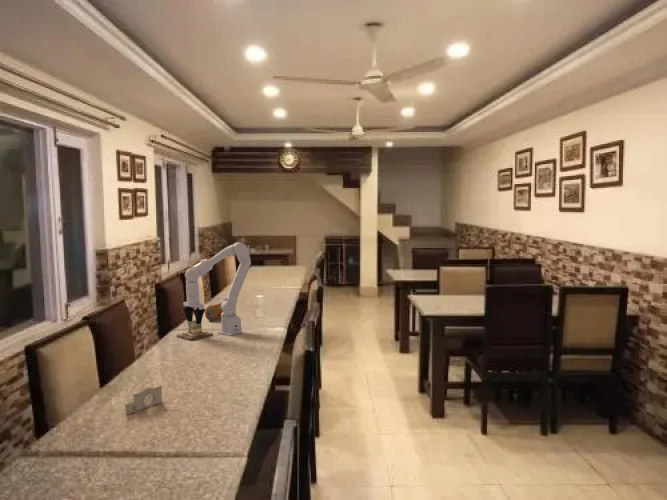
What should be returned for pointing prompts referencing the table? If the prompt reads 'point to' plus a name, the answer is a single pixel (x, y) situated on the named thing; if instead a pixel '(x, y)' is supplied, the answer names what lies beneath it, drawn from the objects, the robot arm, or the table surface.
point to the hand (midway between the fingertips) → (194, 322)
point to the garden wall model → (140, 397)
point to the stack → (194, 327)
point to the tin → (213, 312)
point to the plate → (195, 336)
